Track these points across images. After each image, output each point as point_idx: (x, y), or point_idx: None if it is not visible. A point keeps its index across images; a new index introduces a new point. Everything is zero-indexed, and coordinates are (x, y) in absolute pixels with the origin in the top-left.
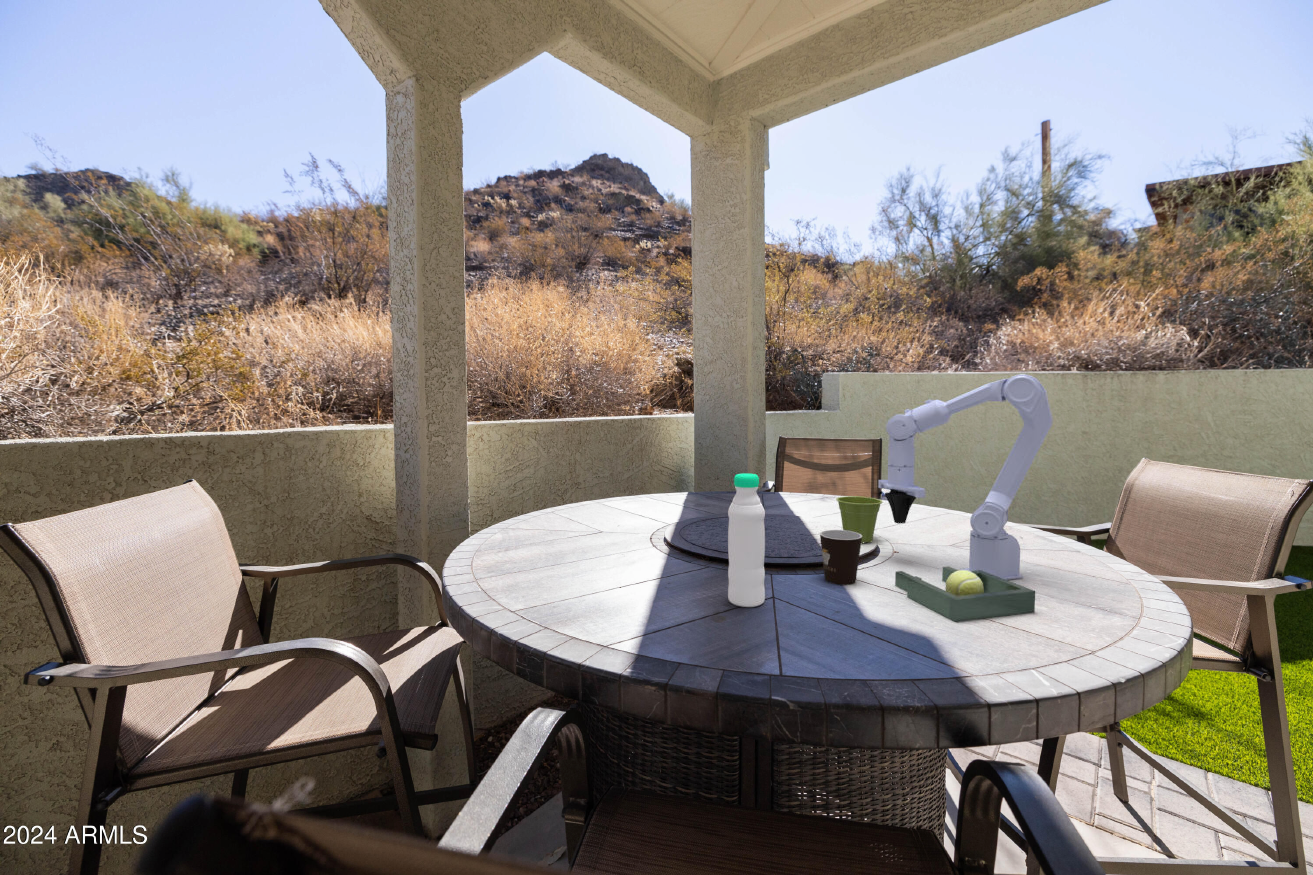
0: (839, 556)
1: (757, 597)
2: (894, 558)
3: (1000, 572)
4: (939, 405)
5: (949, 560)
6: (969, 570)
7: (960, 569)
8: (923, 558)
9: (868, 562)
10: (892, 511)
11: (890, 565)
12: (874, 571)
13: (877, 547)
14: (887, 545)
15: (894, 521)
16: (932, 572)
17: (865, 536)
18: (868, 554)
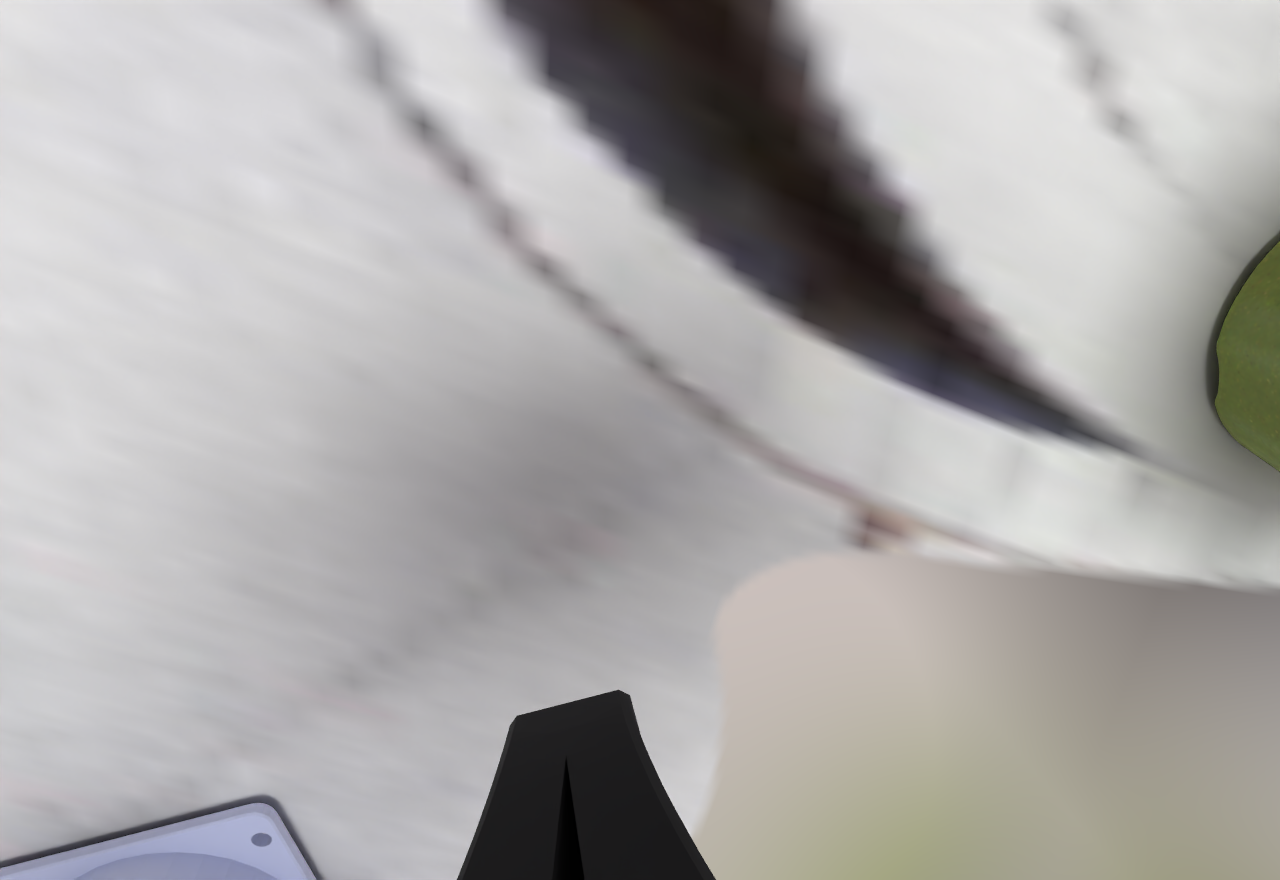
0: None
1: None
2: (675, 445)
3: None
4: None
5: None
6: (196, 859)
7: (245, 814)
8: (651, 674)
9: (543, 100)
10: (662, 868)
11: (424, 312)
12: (146, 11)
13: (1058, 425)
14: (1087, 534)
15: (616, 701)
16: (211, 605)
17: (1269, 375)
18: (851, 235)
